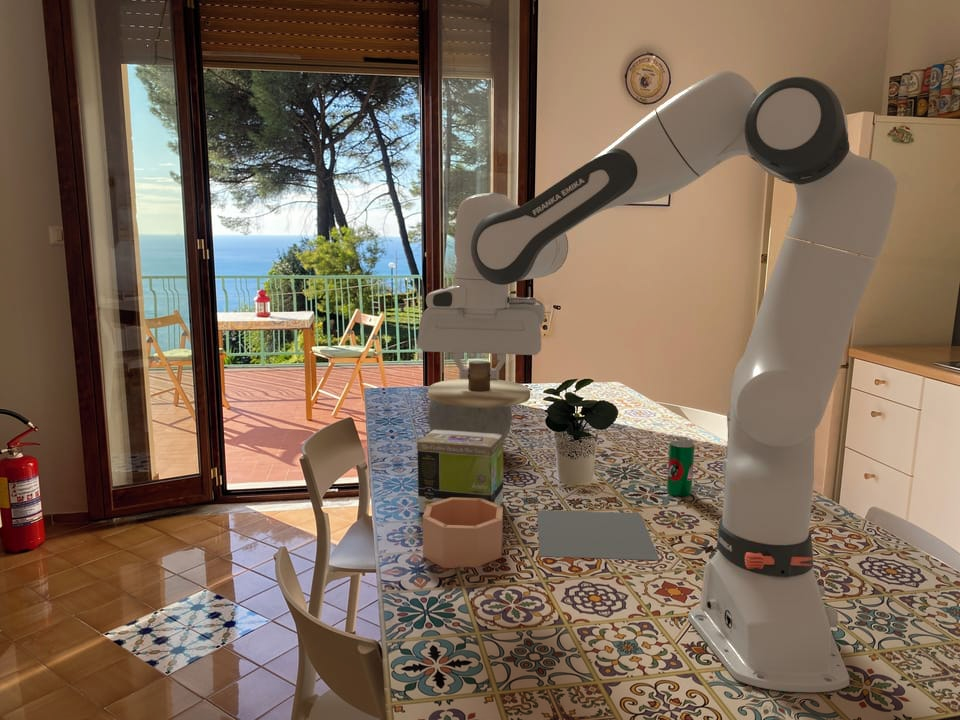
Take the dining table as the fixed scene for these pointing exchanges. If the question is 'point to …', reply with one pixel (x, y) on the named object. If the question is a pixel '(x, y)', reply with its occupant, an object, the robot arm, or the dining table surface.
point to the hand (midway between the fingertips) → (479, 379)
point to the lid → (479, 390)
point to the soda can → (680, 466)
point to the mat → (594, 535)
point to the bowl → (469, 418)
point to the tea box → (459, 466)
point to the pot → (462, 532)
